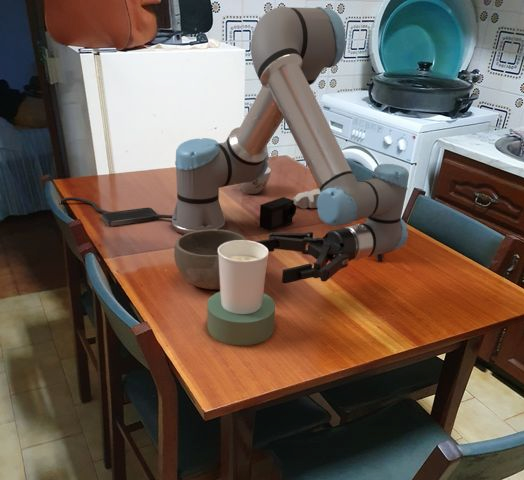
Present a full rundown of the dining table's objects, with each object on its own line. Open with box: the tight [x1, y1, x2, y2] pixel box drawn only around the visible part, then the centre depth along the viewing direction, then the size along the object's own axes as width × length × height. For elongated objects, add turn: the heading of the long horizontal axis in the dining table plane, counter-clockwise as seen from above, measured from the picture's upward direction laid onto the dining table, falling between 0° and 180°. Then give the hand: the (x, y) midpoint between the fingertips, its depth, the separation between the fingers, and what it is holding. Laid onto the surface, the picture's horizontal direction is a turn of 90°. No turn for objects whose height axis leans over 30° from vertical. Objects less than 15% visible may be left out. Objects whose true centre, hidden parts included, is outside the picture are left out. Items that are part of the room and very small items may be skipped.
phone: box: [101, 207, 159, 227], centre depth 160 cm, size 8×1×15 cm
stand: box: [206, 291, 276, 347], centre depth 113 cm, size 14×14×6 cm
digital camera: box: [258, 196, 297, 232], centre depth 160 cm, size 10×5×7 cm, turn 138°
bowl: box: [173, 229, 248, 290], centre depth 129 cm, size 17×18×10 cm
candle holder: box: [218, 239, 270, 314], centre depth 108 cm, size 10×10×12 cm
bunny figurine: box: [292, 188, 321, 210], centre depth 176 cm, size 10×5×15 cm
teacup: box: [237, 166, 272, 195], centre depth 185 cm, size 15×12×8 cm
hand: (264, 262), depth 110 cm, fingers open, 13 cm apart
